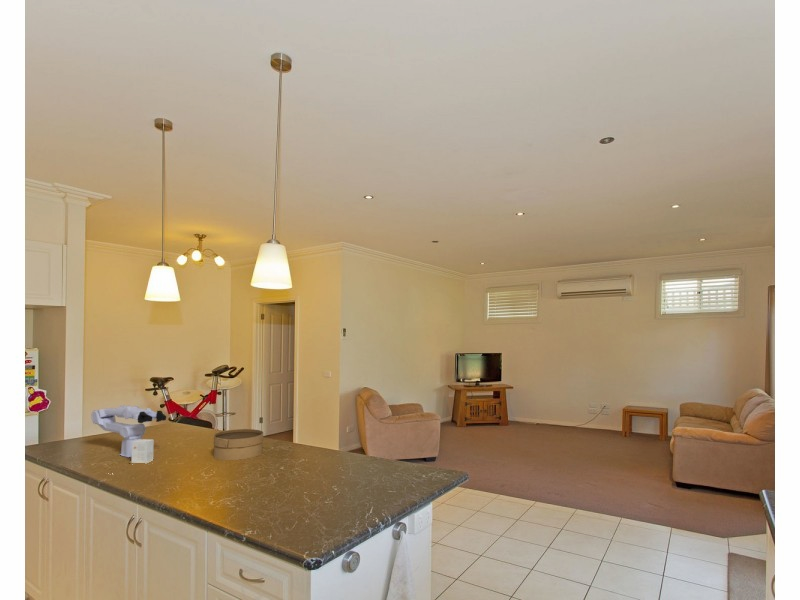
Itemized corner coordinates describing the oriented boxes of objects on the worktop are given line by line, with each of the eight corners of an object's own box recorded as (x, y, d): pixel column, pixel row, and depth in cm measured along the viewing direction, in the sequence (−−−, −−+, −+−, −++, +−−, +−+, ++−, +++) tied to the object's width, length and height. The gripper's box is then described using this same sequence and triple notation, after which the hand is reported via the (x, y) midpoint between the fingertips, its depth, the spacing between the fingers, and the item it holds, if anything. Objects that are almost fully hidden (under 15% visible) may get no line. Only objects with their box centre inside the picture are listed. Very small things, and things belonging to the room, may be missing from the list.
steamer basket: (228, 463, 230) (229, 440, 231) (204, 455, 247) (205, 433, 248) (272, 454, 249) (272, 433, 250) (246, 447, 265) (247, 427, 266)
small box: (153, 460, 235) (154, 439, 235) (146, 463, 229) (147, 441, 230) (138, 460, 235) (139, 438, 236) (130, 463, 230) (131, 441, 231)
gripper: (129, 407, 238) (146, 411, 232) (155, 406, 251) (172, 409, 244) (127, 421, 237) (144, 425, 231) (153, 419, 250) (170, 423, 243)
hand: (158, 418), depth 237 cm, fingers open, 7 cm apart
